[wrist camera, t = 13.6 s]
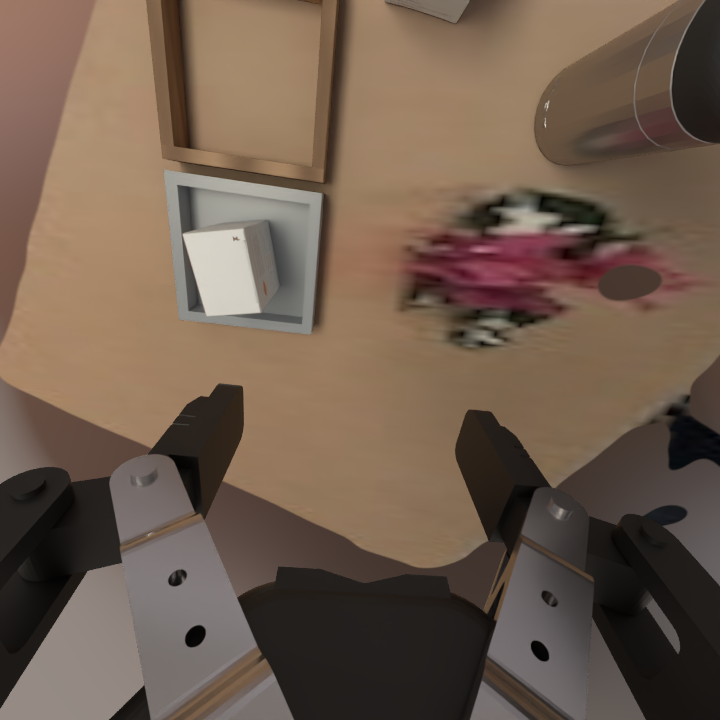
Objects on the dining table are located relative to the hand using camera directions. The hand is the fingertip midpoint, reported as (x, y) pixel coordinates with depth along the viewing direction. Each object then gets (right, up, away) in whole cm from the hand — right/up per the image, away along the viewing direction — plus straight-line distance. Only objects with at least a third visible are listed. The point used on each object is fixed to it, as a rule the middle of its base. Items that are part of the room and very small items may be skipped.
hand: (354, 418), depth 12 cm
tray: (-13, +15, +29) cm, 35 cm away
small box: (-13, +15, +29) cm, 35 cm away
